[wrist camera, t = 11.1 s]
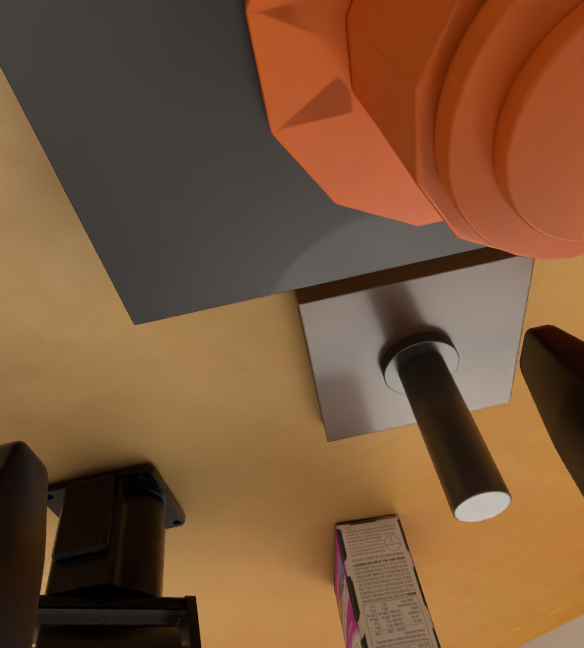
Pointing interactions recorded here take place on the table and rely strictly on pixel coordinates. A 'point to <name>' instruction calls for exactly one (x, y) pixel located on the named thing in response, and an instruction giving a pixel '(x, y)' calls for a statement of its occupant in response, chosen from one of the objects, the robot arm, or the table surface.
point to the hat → (435, 111)
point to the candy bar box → (379, 587)
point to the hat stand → (423, 359)
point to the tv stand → (184, 157)
